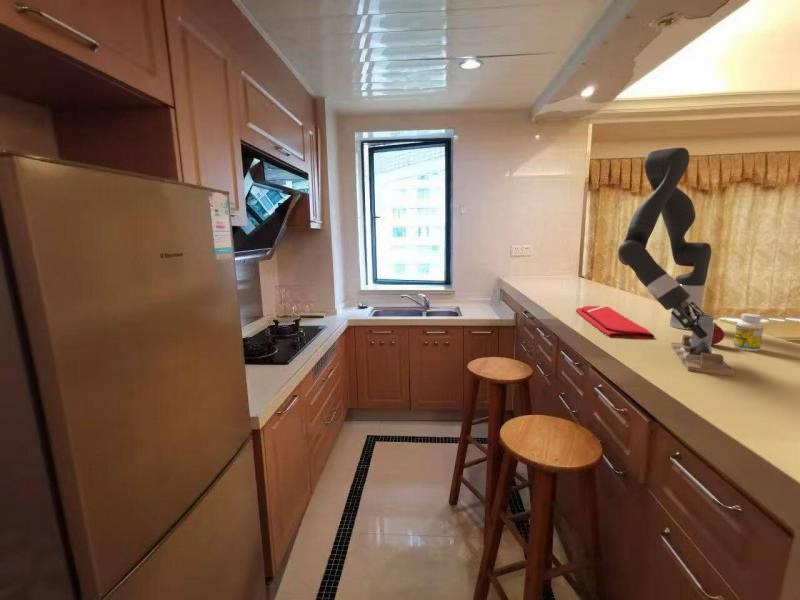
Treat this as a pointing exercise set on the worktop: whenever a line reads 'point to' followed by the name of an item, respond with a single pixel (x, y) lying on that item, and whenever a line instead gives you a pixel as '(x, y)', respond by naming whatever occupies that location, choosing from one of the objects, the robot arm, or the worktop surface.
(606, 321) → the red folded towel
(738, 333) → the supplement bottle
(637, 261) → the robot arm
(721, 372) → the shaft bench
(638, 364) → the worktop surface
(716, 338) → the onion
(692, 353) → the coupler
